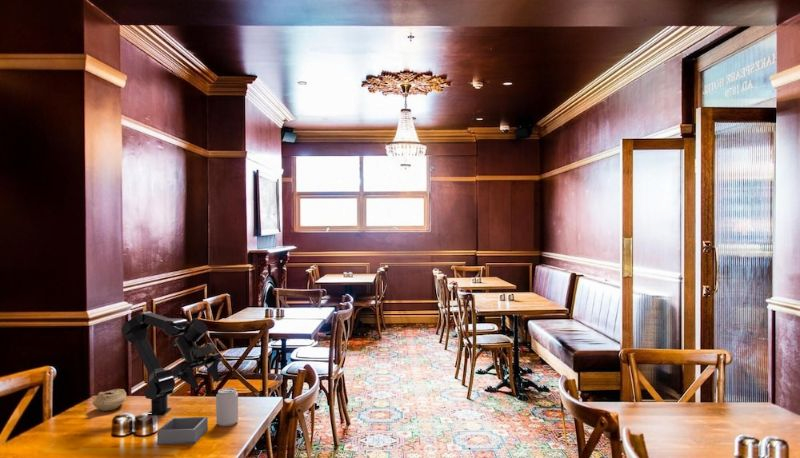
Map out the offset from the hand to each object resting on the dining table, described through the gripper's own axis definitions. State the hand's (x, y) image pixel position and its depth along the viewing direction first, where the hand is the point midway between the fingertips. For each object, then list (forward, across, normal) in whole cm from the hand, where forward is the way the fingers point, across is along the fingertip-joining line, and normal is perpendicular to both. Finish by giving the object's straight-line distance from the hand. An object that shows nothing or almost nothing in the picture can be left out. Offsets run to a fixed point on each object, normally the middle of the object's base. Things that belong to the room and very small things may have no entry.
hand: (208, 384), depth 187 cm
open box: (+12, -13, +6) cm, 19 cm away
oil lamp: (-20, -5, +47) cm, 51 cm away
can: (+15, +2, +3) cm, 15 cm away
